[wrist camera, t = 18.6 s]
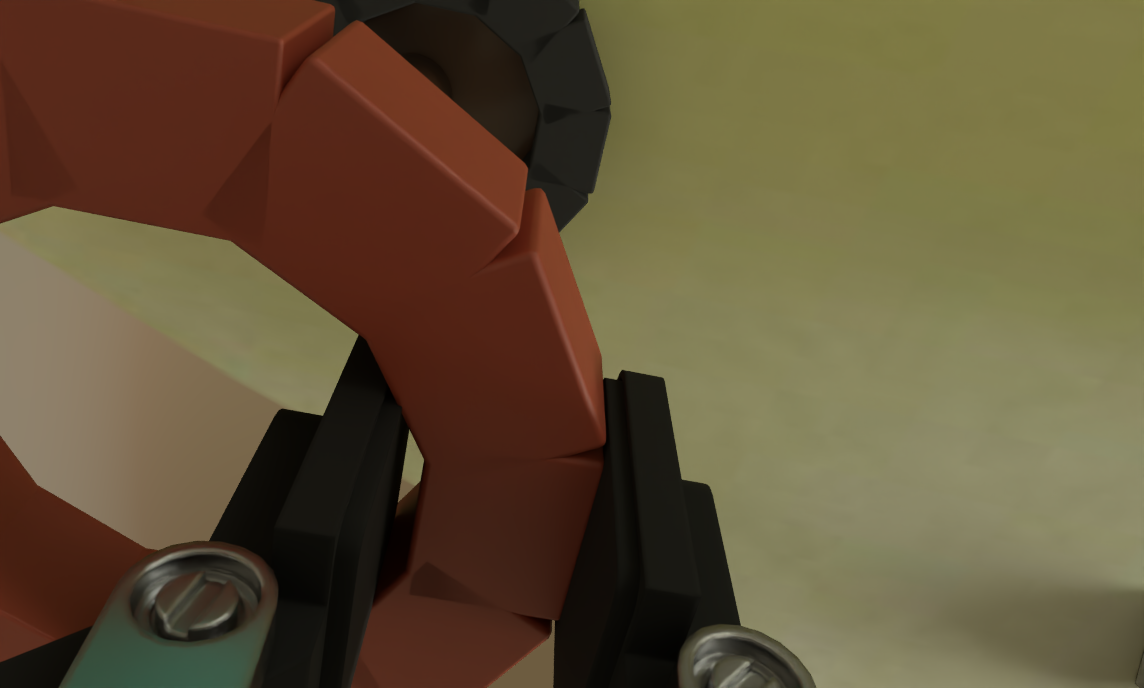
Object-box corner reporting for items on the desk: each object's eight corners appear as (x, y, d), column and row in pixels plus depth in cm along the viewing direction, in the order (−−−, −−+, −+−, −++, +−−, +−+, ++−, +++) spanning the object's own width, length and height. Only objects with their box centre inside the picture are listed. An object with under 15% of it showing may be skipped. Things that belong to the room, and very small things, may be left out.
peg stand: (493, -95, 26) (457, -70, 18) (580, 166, 29) (582, 283, 21) (240, -2, 27) (101, 61, 19) (354, 238, 30) (277, 374, 23)
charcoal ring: (541, -135, 24) (539, -133, 22) (643, 203, 29) (648, 226, 27) (209, -12, 26) (182, -1, 24) (356, 291, 30) (343, 318, 28)
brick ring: (417, -178, 9) (379, -185, 7) (676, 571, 13) (692, 681, 12) (-409, 132, 10) (-613, 192, 8) (81, 712, 15) (15, 828, 13)
